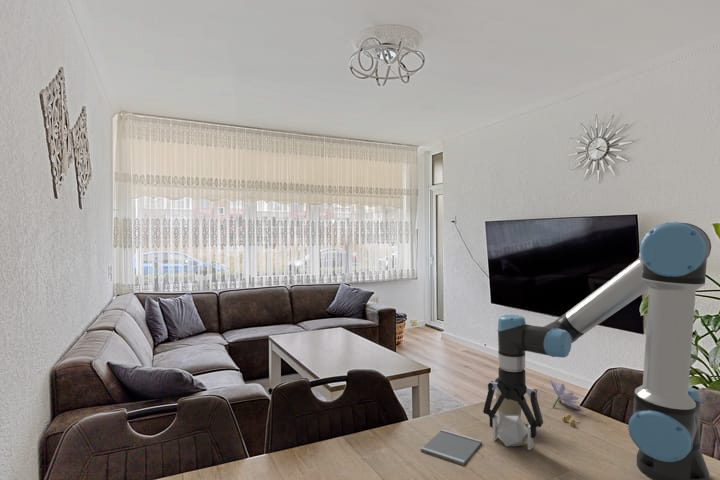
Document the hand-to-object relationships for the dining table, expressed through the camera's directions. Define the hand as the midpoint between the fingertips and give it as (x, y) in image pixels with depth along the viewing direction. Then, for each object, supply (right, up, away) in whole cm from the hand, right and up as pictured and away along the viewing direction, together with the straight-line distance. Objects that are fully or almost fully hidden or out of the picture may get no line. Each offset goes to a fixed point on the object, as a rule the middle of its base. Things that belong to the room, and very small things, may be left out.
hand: (512, 442), depth 124 cm
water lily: (+28, 0, +26) cm, 38 cm away
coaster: (-18, -1, -1) cm, 18 cm away
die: (0, 0, 0) cm, 0 cm away
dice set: (+24, -1, +14) cm, 28 cm away
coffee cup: (+4, 0, +14) cm, 15 cm away
